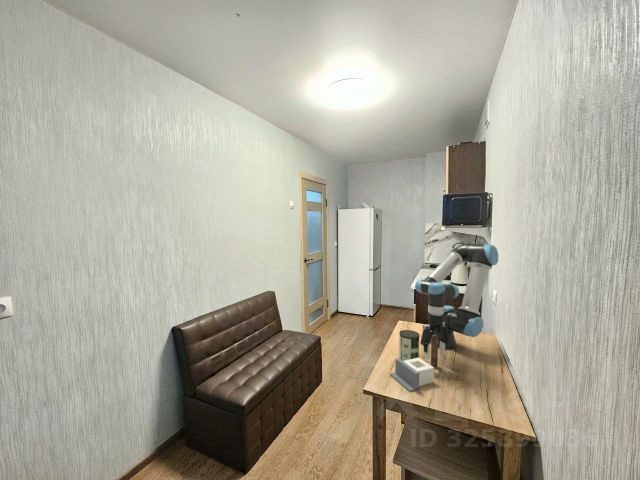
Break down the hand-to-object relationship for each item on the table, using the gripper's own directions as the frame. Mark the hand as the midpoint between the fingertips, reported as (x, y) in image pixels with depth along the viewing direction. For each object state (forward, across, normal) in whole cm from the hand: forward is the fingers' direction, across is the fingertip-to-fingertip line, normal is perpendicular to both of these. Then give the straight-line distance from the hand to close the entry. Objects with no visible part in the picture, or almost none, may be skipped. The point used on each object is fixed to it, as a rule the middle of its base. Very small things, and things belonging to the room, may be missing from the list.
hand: (434, 356), depth 138 cm
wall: (+5, +24, +6) cm, 25 cm away
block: (+5, +16, +6) cm, 18 cm away
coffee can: (+5, +7, -11) cm, 14 cm away
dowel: (+5, 0, 0) cm, 5 cm away
